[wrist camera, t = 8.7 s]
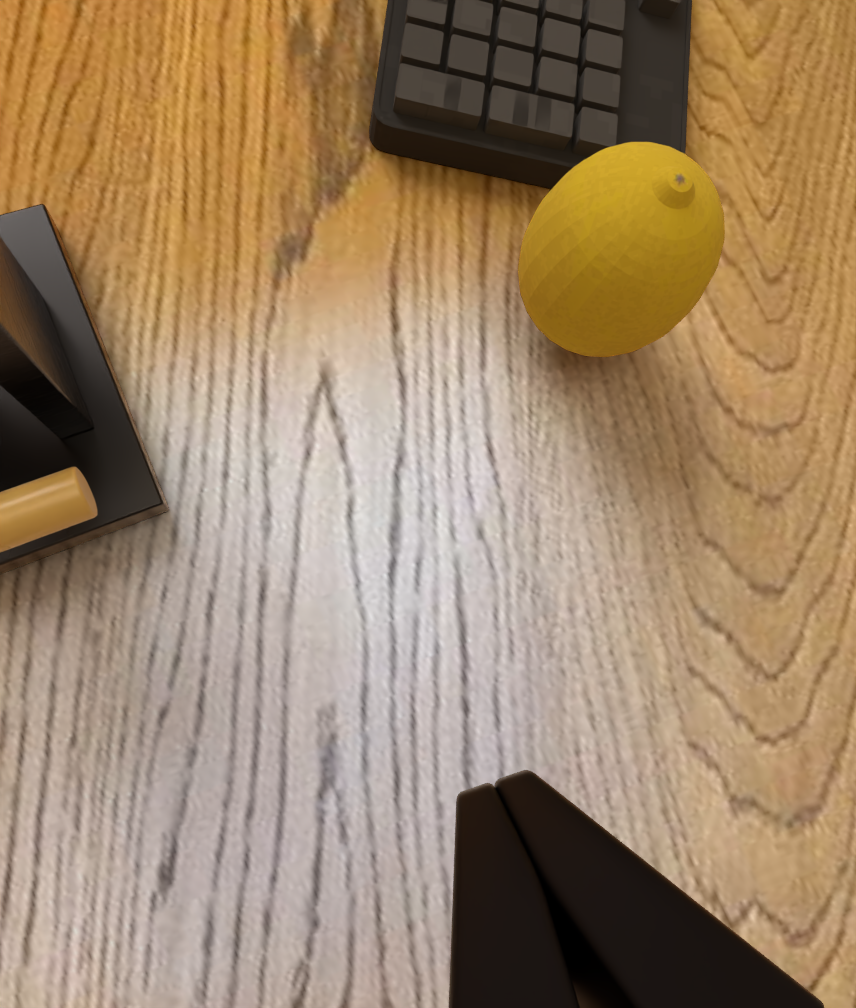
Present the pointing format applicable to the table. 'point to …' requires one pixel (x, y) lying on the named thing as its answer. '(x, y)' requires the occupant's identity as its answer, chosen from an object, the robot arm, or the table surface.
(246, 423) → the table surface
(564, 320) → the lemon
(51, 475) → the lever
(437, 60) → the keyboard
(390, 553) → the table surface
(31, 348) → the black upright frame
